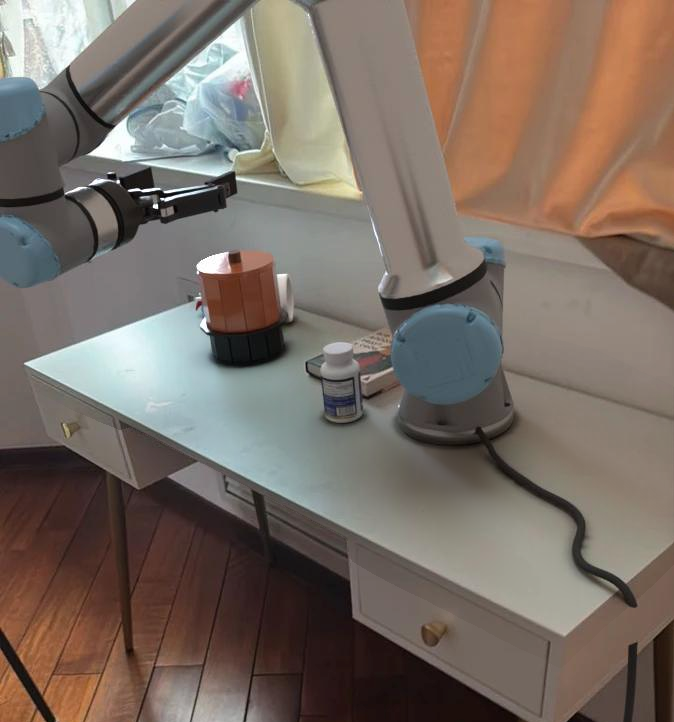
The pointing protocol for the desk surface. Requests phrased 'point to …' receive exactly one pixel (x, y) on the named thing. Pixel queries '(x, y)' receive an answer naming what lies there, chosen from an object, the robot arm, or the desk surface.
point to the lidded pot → (239, 291)
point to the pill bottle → (341, 383)
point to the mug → (286, 295)
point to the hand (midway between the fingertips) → (191, 179)
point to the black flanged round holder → (247, 344)
